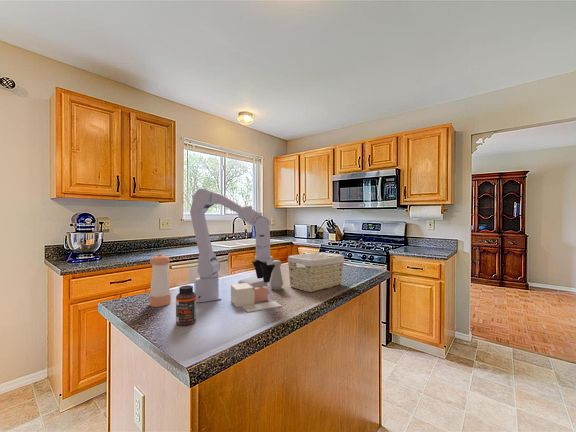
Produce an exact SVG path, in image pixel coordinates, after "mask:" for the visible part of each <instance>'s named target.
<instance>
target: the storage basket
mask: <svg viewBox="0 0 576 432" xmlns="http://www.w3.org/2000/svg"><path fill="white" fill-rule="evenodd" d="M287 263H288V264H287V265H288V275H289V277H288V278H289V286H290V287H291V288H294V289H297V290H300V291H304V292H308V293H313V292H317V291H320V290H321V291H322V290H323V289H329V288H333V287H336V286H340V285H342V278H343V270H344V269H343V267H344V263H345V255H344V254H339V253H332V252H324V251H321V252H311V253H310V252H309V253H301V254H293V255H288V257H287Z"/></svg>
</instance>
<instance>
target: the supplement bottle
mask: <svg viewBox="0 0 576 432" xmlns="http://www.w3.org/2000/svg"><path fill="white" fill-rule="evenodd" d="M196 320H197V302H196V294H195V293H194V286H193V285H188V284H187V285H182V286H179V293H177V295H176V296H175V324H176V325H177V326H182V327H183V326H191V325H192V324H195V323H196Z"/></svg>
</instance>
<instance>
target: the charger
mask: <svg viewBox="0 0 576 432" xmlns="http://www.w3.org/2000/svg"><path fill="white" fill-rule="evenodd" d="M241 283H249V284H250V285H252V286H253V287H254V288H256V287H264V286H266V287H267V288H268V282H267V283H264V280H263V278H259V279H258V278H257V276H255V277H253V276H252V277H246V278H242V279H240V280H238V281H237V284H241Z"/></svg>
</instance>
